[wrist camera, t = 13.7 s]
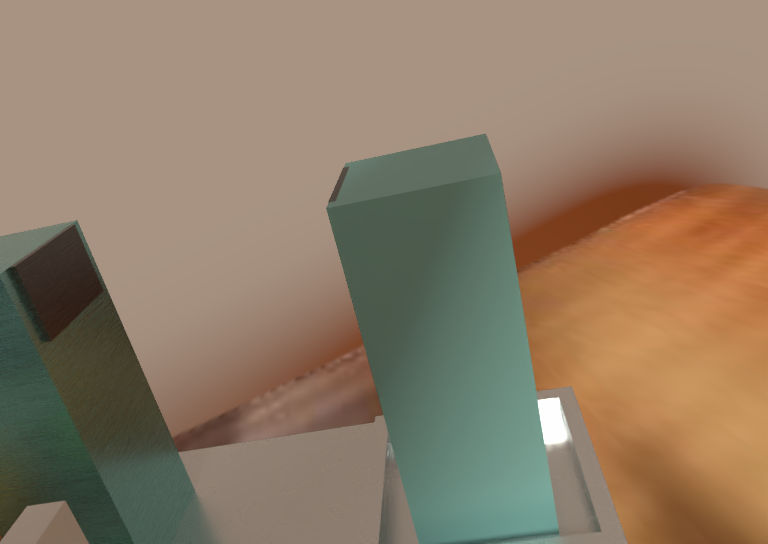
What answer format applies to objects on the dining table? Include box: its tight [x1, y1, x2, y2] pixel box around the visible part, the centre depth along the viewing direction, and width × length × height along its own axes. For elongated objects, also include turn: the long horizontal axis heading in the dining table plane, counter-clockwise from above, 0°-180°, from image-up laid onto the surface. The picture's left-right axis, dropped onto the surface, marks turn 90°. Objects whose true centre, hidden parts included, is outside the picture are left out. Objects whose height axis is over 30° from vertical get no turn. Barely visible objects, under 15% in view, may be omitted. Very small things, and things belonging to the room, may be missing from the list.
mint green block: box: [326, 134, 559, 544], centre depth 21 cm, size 4×4×12 cm
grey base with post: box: [0, 220, 628, 544], centre depth 22 cm, size 20×10×14 cm, turn 88°
